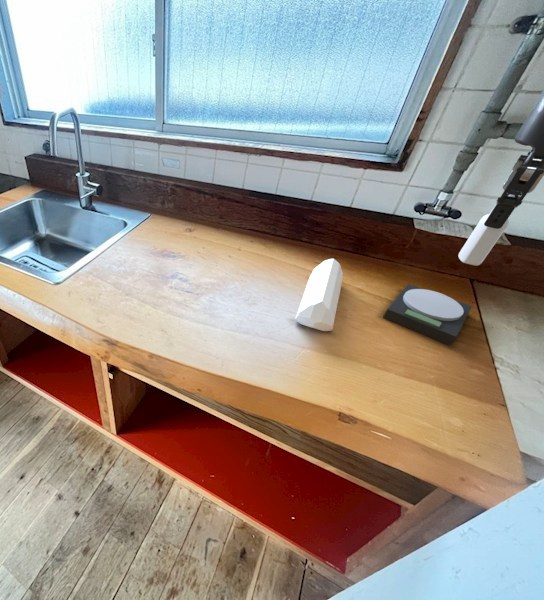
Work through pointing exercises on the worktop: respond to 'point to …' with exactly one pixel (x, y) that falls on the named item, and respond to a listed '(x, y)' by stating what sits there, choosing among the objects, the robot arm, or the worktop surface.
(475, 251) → the eye dropper bottle
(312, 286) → the chamfered white bar
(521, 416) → the worktop surface
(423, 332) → the kitchen scale
